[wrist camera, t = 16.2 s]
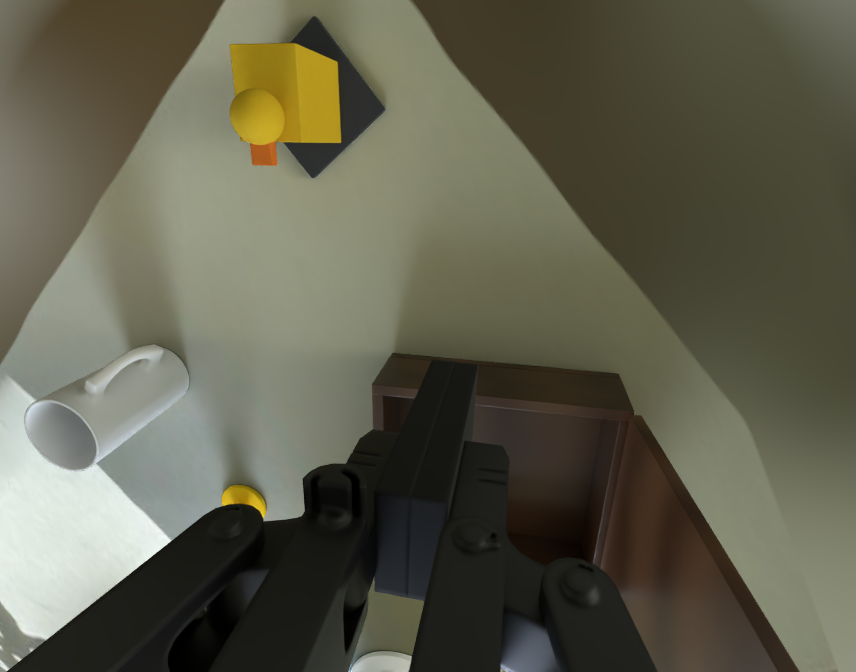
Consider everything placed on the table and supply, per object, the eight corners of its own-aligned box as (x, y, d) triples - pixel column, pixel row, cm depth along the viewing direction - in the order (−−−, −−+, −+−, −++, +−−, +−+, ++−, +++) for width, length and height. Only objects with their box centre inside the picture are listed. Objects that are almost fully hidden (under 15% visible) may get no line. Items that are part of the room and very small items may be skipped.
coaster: (316, 17, 36) (314, 15, 35) (385, 109, 37) (384, 109, 37) (248, 95, 38) (244, 94, 38) (314, 178, 40) (312, 178, 39)
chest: (394, 515, 51) (376, 563, 45) (392, 352, 44) (371, 384, 39) (588, 544, 48) (596, 600, 42) (619, 373, 41) (634, 411, 35)
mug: (178, 413, 52) (85, 485, 41) (125, 377, 51) (16, 440, 40) (214, 345, 48) (120, 404, 37) (156, 305, 47) (44, 353, 36)
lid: (694, 995, 23) (711, 997, 23) (821, 746, 16) (848, 748, 16) (592, 604, 42) (602, 605, 42) (630, 414, 35) (641, 415, 35)
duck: (337, 61, 36) (271, 32, 27) (342, 161, 38) (283, 167, 29) (282, 62, 37) (199, 33, 27) (290, 160, 39) (216, 165, 30)
